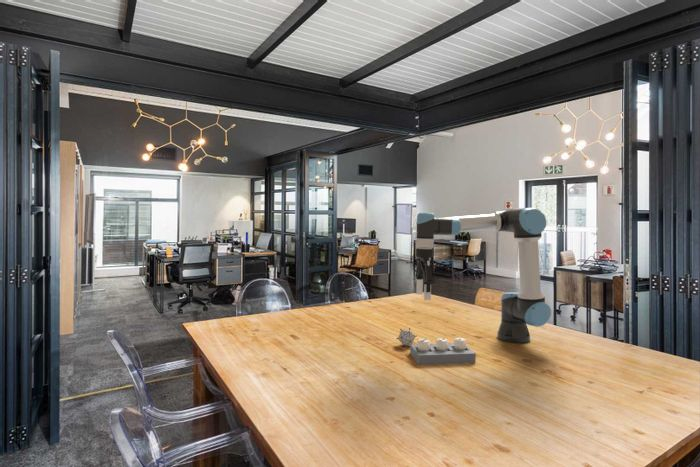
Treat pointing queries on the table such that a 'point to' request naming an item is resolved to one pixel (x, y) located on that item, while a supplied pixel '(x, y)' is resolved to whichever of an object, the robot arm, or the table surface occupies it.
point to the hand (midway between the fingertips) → (423, 296)
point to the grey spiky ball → (406, 337)
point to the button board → (442, 355)
